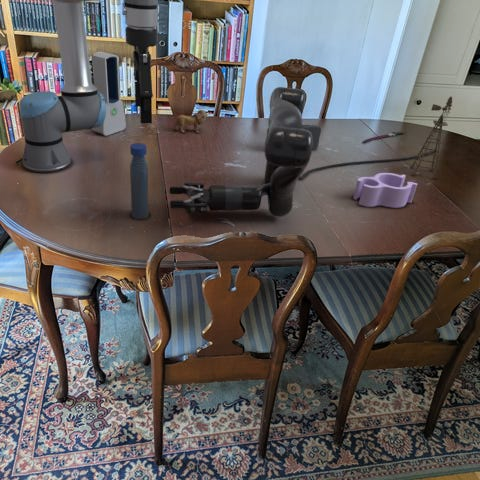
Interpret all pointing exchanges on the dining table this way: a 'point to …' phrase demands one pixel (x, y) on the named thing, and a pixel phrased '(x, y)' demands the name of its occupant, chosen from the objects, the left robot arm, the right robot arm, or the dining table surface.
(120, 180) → the dining table surface
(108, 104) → the electronic device
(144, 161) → the bottle
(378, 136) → the sword
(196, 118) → the lion figurine
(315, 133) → the handheld gaming console
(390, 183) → the clip
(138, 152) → the cap
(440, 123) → the miniature windmill
